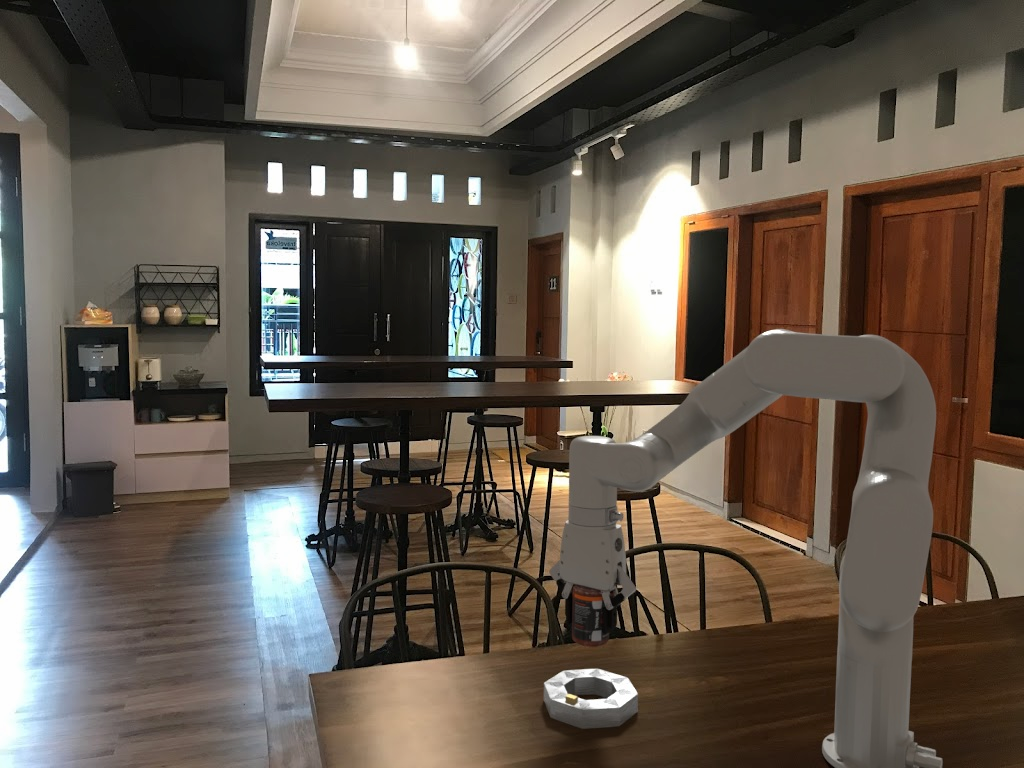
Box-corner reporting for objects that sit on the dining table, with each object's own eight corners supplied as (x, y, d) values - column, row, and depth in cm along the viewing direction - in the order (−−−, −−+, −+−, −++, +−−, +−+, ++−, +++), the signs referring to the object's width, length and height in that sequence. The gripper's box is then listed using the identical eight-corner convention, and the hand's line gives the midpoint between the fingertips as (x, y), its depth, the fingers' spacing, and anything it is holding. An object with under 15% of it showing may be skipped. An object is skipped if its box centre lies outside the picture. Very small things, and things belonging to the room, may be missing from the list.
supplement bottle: (607, 650, 129) (608, 578, 128) (569, 646, 130) (570, 576, 129) (610, 635, 135) (612, 567, 134) (574, 632, 136) (575, 564, 135)
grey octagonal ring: (649, 702, 135) (650, 680, 135) (605, 737, 124) (606, 713, 123) (576, 679, 143) (576, 658, 143) (528, 710, 132) (528, 687, 132)
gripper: (652, 519, 129) (650, 632, 130) (559, 503, 139) (558, 607, 140) (629, 529, 123) (626, 647, 124) (533, 511, 133) (532, 620, 134)
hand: (590, 625), depth 132 cm, fingers closed on supplement bottle, 6 cm apart
